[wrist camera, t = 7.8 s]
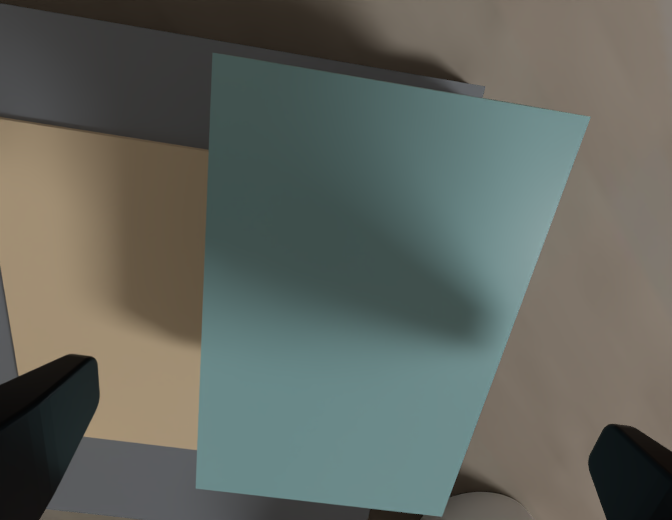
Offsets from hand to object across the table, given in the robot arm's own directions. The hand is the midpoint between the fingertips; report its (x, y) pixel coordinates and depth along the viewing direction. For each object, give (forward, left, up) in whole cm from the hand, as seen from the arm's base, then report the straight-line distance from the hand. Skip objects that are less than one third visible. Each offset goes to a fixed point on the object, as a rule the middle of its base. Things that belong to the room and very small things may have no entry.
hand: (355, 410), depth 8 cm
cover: (0, 0, -5) cm, 5 cm away
